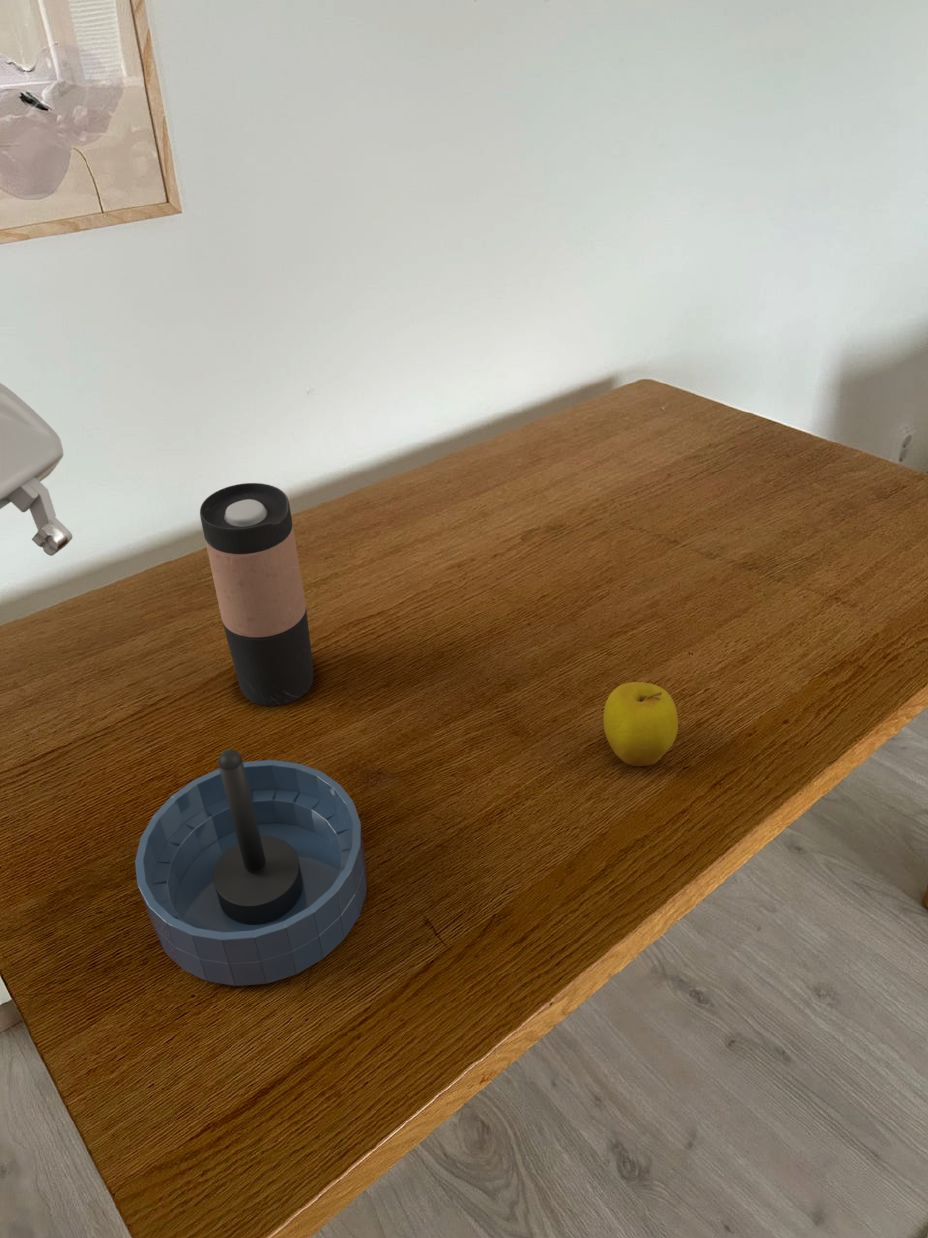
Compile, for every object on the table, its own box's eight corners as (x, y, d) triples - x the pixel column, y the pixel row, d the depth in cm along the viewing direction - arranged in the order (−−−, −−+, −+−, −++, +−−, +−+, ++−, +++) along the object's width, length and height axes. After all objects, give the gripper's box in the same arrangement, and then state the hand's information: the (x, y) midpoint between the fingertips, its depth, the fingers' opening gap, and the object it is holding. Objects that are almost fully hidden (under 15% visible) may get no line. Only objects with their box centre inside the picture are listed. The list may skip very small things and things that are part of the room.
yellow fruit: (684, 774, 85) (696, 707, 80) (613, 786, 84) (621, 719, 79) (658, 723, 89) (667, 657, 85) (591, 734, 89) (596, 668, 84)
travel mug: (230, 666, 97) (191, 492, 84) (306, 647, 99) (279, 474, 86) (245, 717, 91) (205, 538, 79) (325, 696, 93) (299, 518, 81)
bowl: (248, 1037, 67) (232, 984, 63) (112, 906, 75) (90, 853, 71) (410, 884, 76) (406, 830, 72) (274, 783, 85) (262, 730, 81)
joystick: (255, 940, 72) (220, 805, 62) (201, 893, 75) (160, 757, 66) (320, 884, 75) (295, 748, 66) (266, 842, 79) (235, 706, 69)
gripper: (-309, 481, 52) (-100, 665, 55) (-22, 335, 66) (130, 487, 69) (-322, 535, 56) (-128, 703, 59) (-49, 386, 70) (95, 527, 73)
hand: (14, 585), depth 64 cm, fingers open, 8 cm apart
